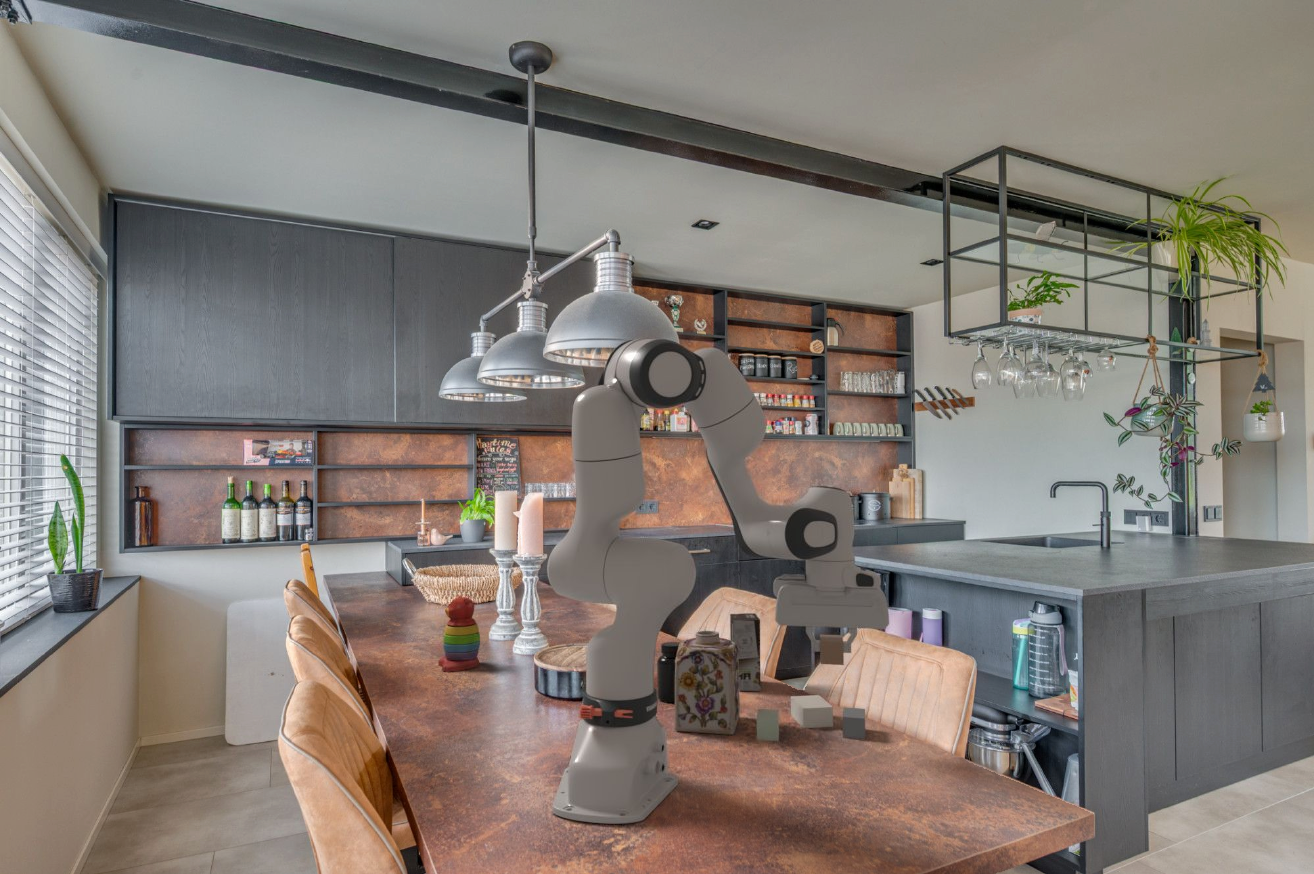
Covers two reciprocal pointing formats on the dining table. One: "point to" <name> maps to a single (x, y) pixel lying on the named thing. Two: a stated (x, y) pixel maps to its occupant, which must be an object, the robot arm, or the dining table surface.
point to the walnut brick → (831, 649)
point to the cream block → (811, 711)
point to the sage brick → (768, 725)
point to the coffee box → (747, 649)
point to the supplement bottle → (667, 672)
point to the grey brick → (853, 723)
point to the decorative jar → (707, 685)
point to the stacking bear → (460, 637)
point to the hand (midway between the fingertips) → (831, 651)
